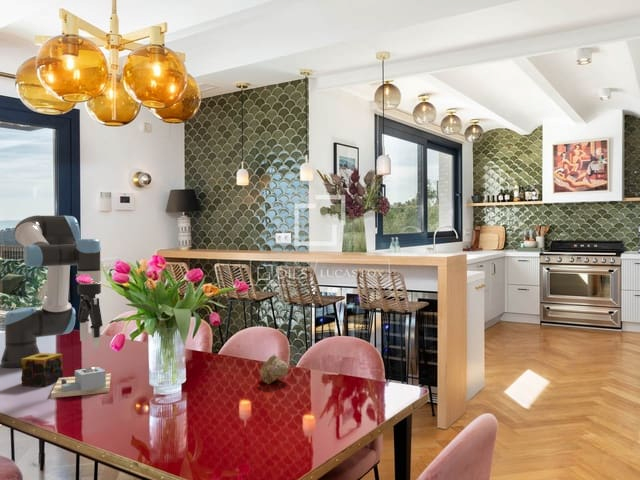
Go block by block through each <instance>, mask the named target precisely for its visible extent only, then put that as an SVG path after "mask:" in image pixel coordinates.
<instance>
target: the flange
mask: <svg viewBox="0 0 640 480" xmlns="http://www.w3.org/2000/svg"><path fill="white" fill-rule="evenodd" d="M94 367H95V372H89V373H86V368H82V369H76V370H74V377H75V382H73V383H67V384H62V385H61V388H62V391H63V392H68V391H74V390H79V389H80V390H81V391H85V390H90V389H96V388H101V387H106V374H107V373H106V370H105V369H103V368H101V367H100V366H94Z"/></svg>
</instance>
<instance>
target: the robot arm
mask: <svg viewBox="0 0 640 480" xmlns="http://www.w3.org/2000/svg"><path fill="white" fill-rule="evenodd" d="M13 234H14V235H13V236H14V238H15V240H16V241H17V243H19V244H20V245H22V246H23V247H24V249H23V262H24V266H26V267H31V268H39V267H47V278H46V279H47V281H46V298H45V299H46V300H45V302H44V303H42V306H41V309H37V308H36V307H35V306H29V307H21V308H17V309H16V308H15V309H13V310H11V311H8V312H6V314H5V315H4V316H5V317H4V324H3V325H4V329H5V332H4V333H5V334H4V335H5V338H4V339H5V341H4V342H5V344H4V345H5V348H4V349H3V353H2V356H1V359H0V367H3V368H11V369H12V368H13V369H14V368H22V361H21V359H22V358H26V357H29V356H32V355H36V354H39V353H41V352H40V349H39V347H38V343H37V338H40V337H42V338H43V337H50V336H51V337H52V336H61V335H65V334H66V335H67V334H70V333H71V332H72V331H73V329H74V327H75V324H76V309H75V307H72V304H71V302H69V292H70V291H69V290H70V276H71V275H70V272H71V271H70V270H71V266H76V267H77V268H76V271H77V272H76V273H77V274H75V277H78V276H80V275H81V276H82V274H87V275H86V276H88V275H90V276H91V278H92V279H93V280H92V281H94V282H93V283H92V284H89V283H87V284H84V283H81V282H79V281H78V280H77V283H78V284H77V295H79V306H78V307H79V308H78V315H77V320H78V321H79V338H80V339H79V341H80V342H85V341H89V337H90V334H91V342H90V343H91V348H99V347H101V327H103V321H102V320H103V319H102V312H101V307H100V306H101V305H100V298H99V297H96V295H100V294H101V293H102V285H101V283H100V282H101V281H102V271H101V250H102V249H101V248H102V247H101V240H100V239H99V238H81V229H80V225H79V222H78V219H77V218H76V217H75V216H73V215H31V216H28V217H25V218H23V219H22V220H20V221H19V222H18V223H17V224H16V226H15V228H14V230H13ZM95 282H97V283H100V284H97V283H95ZM89 322H90V323H91V325H90V329H91V330H90V331H91V333H90V332H89ZM89 333H90V334H89Z"/></svg>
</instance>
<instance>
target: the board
mask: <svg viewBox="0 0 640 480" xmlns="http://www.w3.org/2000/svg"><path fill="white" fill-rule="evenodd" d="M63 379H66V380H67V383H73V382H75V376H68V377H62V378H59V379H58V381H57V382H56V383H55V385H54V387H53V388H52V391H51V393H50V399H56V398H64V397H74V396H85V395H94V394H104V393H110V386H111V380H112V373H106V387H101V388H96V389H90V390H85V391H81V390H80V389H79V390H74V391H68V392H63V391H62V388H61V380H63Z"/></svg>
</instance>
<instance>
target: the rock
mask: <svg viewBox="0 0 640 480" xmlns="http://www.w3.org/2000/svg"><path fill="white" fill-rule="evenodd" d="M290 369H291V367H290V366H289V365H288V363H287V362H286V361H284V360H283V358H280V357H279V356H278V355H276V354H275V353H273V354H272V355H271V356H270V357H269V358H268V360H267V361H266V362H264V363H262V365H261V368H260V371H259V375H260V377H261V380H262V381H263V382H264V383H266V384H268V385H270V384H271V383H273V382H274V381H276V380H279V379H280V378H281V379H283V378H285V377H286V376H288V374H287V373H288V371H289V370H290Z"/></svg>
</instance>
